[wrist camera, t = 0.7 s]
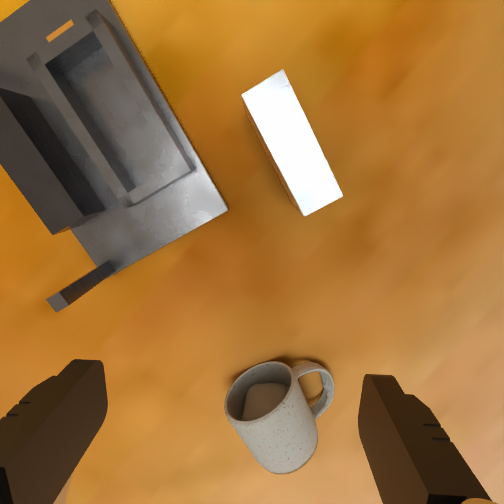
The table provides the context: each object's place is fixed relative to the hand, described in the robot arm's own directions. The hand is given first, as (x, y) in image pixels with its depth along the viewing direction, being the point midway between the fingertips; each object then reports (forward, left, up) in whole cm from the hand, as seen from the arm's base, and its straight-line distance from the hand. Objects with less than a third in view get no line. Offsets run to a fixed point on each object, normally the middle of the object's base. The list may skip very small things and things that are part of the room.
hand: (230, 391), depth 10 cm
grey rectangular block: (-7, -5, -22) cm, 24 cm away
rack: (+7, -14, -22) cm, 27 cm away
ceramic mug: (+5, +17, -22) cm, 28 cm away
